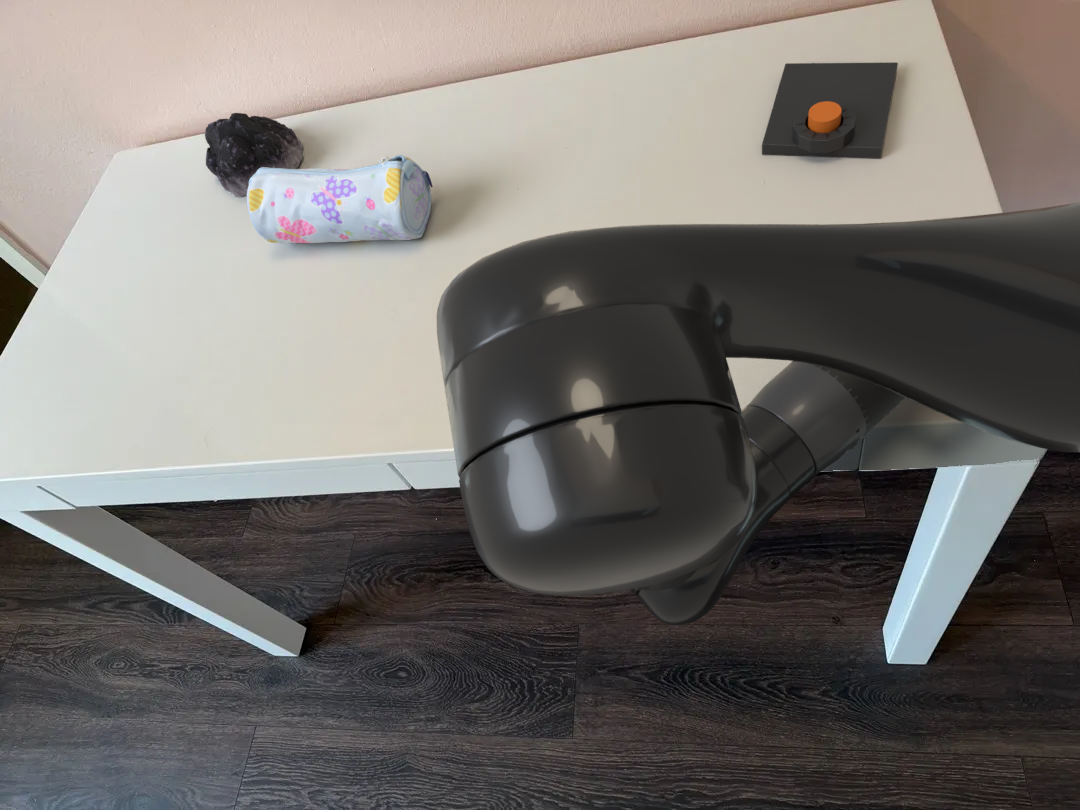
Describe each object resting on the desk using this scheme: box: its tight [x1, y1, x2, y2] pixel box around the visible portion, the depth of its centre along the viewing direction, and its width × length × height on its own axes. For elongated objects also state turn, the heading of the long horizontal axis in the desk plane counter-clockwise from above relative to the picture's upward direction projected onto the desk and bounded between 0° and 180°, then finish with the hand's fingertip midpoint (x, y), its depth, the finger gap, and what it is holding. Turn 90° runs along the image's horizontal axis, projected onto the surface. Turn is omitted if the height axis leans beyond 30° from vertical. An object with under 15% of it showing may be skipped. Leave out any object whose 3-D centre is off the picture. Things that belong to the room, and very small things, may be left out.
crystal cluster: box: [204, 112, 304, 198], centre depth 102 cm, size 13×14×10 cm
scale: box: [761, 62, 899, 159], centre depth 83 cm, size 12×15×3 cm
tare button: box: [808, 101, 842, 133], centre depth 80 cm, size 3×3×2 cm
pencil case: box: [246, 154, 434, 244], centre depth 89 cm, size 21×9×10 cm, turn 81°
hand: (963, 276), depth 60 cm, fingers open, 8 cm apart
